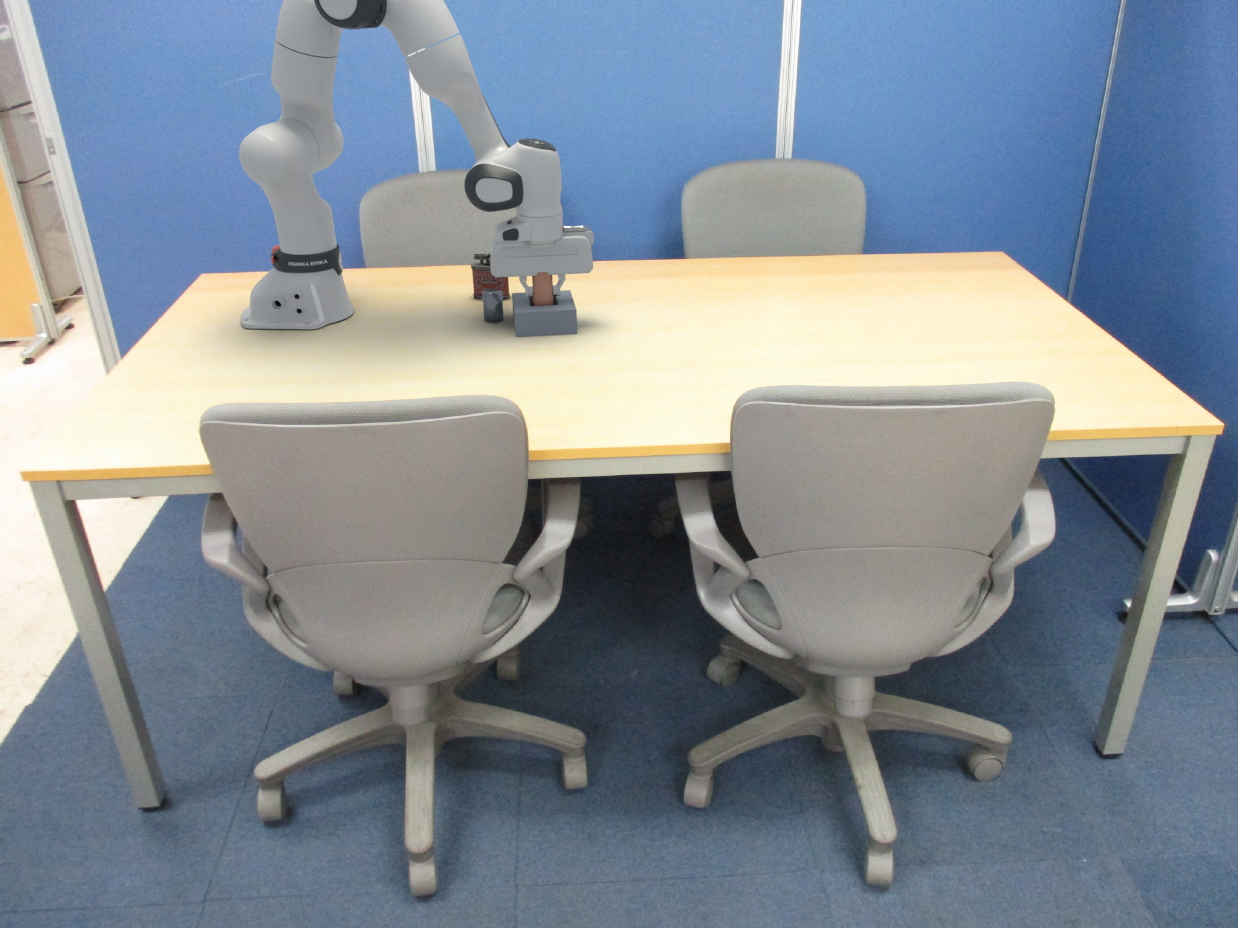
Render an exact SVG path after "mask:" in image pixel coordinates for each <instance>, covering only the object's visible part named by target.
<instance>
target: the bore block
mask: <svg viewBox="0 0 1238 928" xmlns="http://www.w3.org/2000/svg"><path fill="white" fill-rule="evenodd" d="M511 302H512V316H513V322H514V323H513V324H514V330H515V336H516V338H519V337H521V338H522V337H523V338H524V337H538V336H555V335H557V336H558V335H572V334H575V335H577V334H578V322H577V321H578V320H577V319H578V318H577V317H578V316H577V315H578V314H577V307H576V304H575V301H574V298H573V294H572V292H571V290H570V289H568V290H560V296H553V305H547V306H533V297H526V293H525V292H511Z"/></svg>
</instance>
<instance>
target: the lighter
mask: <svg viewBox="0 0 1238 928" xmlns="http://www.w3.org/2000/svg"><path fill="white" fill-rule="evenodd" d="M490 255H491V251H489V252H488V253H485V252H474V253H473V260H475V261H476V260H477V261H479V262H477V261H476V262H472V263H470V267H471V271H472V273H471V274H472V285H473V293H472V297H473V299H474V300H478V301H479V300H480V301H483V295H482V292H483V291H484V290H487V289H500V290H502V297H503V301H509V300H510V299H511V293H510V287H509V277H494V276H493V275H492V274H491V270H490Z"/></svg>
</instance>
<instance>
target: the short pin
mask: <svg viewBox="0 0 1238 928" xmlns="http://www.w3.org/2000/svg"><path fill="white" fill-rule="evenodd" d="M482 295H483V300H482V307H483V321H484V322H485V323H487V324H499V323H501V322H504V320H505V315H504V303H503V302H504V300H503V297H502V290H500V289H487V290H484V291H483V292H482Z"/></svg>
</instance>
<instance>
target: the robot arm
mask: <svg viewBox="0 0 1238 928" xmlns="http://www.w3.org/2000/svg"><path fill="white" fill-rule="evenodd" d="M277 18H278V19H277V24H276V30H275V37H274V45H273V46H274V48H273V55H272V64H271V71H270V72H271V73H270V83H271V85H272V88H273V89H274V91H276V93H278V96H279V100H280V106H281V112H280V113H281V114H280V117H279V119H278V120H277V121H274V122H269V123H267V124H264V125H263V124H262V125H260V126H258V127H257V128H256V129H254V130H253V131H252V132H250V133H249V134H247V135H246V136H245V137H243V139H242V141H241V143H240V145H239V149H238V158H239V162H240V165H241V168H242V169H243V171H244V173H245V174H246V175H247V176H248V177H249V179H251V180H252V181H253V182H254V183H256V184H258V185H259V186H260V188H261V190H262V191H263V193H264V195H265V197H266V199H267V200H268V202H269V205H270V208H271V210H272V214H273V217H274V222H275V227H276V232H277V238H278V244H279V245H278V244H276V245H273V248H272V249H271V252H270V253H271V254H270V261H271V264H272V267H273V268H271V269H270V270H269V271H268V272H267V273H266V274H264V276H263V277H262V278H261V279H259V280H258V282H256V284H254V286H253V287H252V289H251V292H250V296H249V297H250V298H249V306H247V308H245V309H244V310H243V311H242V313H241V316H240V324H241V326H242V327H243V328H245V329H251V330H252V329H253V330H254V329H256V330H257V329H265V330H317V329H321V328H323V327H325V326H327V325H329V324H333V323H338V322H339V321H342V320H343V321H344V319H347V318H349V317H351V316H352V315H353V314H354V312H355V308H354V305H353V304H352V302H351V299H350V297H349V294H348V291H347V288H346V284H345V281H344V276H343V271H344V270H343V269H344V265H343V259H342V258H343V257H342V252H341V249H340V245H339V244H338V243H337V242H338V241H337V237H336V236H337V235H336V231H335V223H334V217H333V216H334V215H333V209H332V207H331V205H330V204H329V203H328V202H327V201H326V200H325V199H323V198H322V197H321V196H320V193H319V191H318V189H317V187H316V184H315V181H314V176H313V174H316V173H318V172H321V171H323V170H326V169H327V168H329V166H331V165H332V164H333V163H334V162H336V160H338V158H339V157H340V156H341V155H342V152H343V149H344V142H345V141H344V136H343V133H342V131H341V130H342V129H340V126H339V125H338V124H337V122H336V120H335V112H334V102H333V100H334V99H333V98H334V85H335V80H336V79H335V77H336V70H337V64H338V56H339V51H340V50H339V49H340V41H341V37H342V33H343V31H344V30H362V29H376V28H379V27H380V26H382V27H384V28H385V29H387V30H388V31H389V32H390V33H391V35H392V37H393V38H394V40H395V42H396V44H397V46H398V47H399V51H400V52H401V55H402V57H403V60H404V61H405V64H406V66H407V68H408V70H409V72H410V74H411V75H412V78H413V79H414V80H415V82H416V84H417V85H418V86H419V88H420V90H422V92H423V93H424V94H426V95H427V96H429V97H430V98H433V99H436V100H438V101H440V102H441V103H443V104H444V105H446V106H447V107H448V108H449V109H450V110H451V111H452V112H453V114H455V116H456V118H457V119H458V121H459V123H460V126H461V127H462V130H463V131H464V134H465V136H466V138H467V140H468V142H469V143H470V146H471V148H472V150H473V152H474V155H475V157H474V158H475V163H474V165H472V167H471V168H470V169H469V171H468V172H467V173H466V176H465V178H464V182H463V183H464V184H463V185H464V192H465V195H466V198H467V199H468V200H469V203H471V205H473V206H474V207H475V208H476V209H477V210H480V211H482V212H487V213H494V212H501V211H506V210H511V209H516V216H514V217H510V218H508V219H505V220H502V221H500V222H499V221H498V222H497V223H496V224H495V226H494V236H495V237H494V239H493V240H492V242H491V247H490V252H491V255H490V270H491V274H492V275H493V276H494V277H508V278H514V277H515V278H516V277H518V279H519V280H518V281H519V283H520V284H521V285H522V287H523V289H524V290H525V293H526V297H533V285H531V286H529V284H528V283H527V281H528V279H527V278H528V277H532V276H536V275H537V273H538V272H548V274H549V275H552V276H557V279H558V281H557V282H556V284H554V285H553V296H560V291H561V288H562V287H563V284H564V282H565V281H566V275H577V274H578V275H579V274H590V273H591V272H592V271H593V269H594V262H593V261H594V260H593V252H592V247H593V245H594V243H595V235H594V231H593V229H592V228H590V227H587V226H586V225H585V224H581V225H564V221H563V220H564V219H563V218H564V217H563V215H564V213H563V207H562V204H561V195H562V194H561V193H562V190H563V184H562V180H563V179H562V167H561V161H560V157H559V153H558V150H557V148H556V147H555V146H554V145H553V144H552V143H550V142H548V141H546V140H542V139H537V138H521V139H518V140H517V141H516V143H514V144H513V145H510V144H509V143H508V142H507V140H506V139H505V137H504V136H503V134H502V132H501V130H500V127H499V125H498V124H497V121H496V119H495V117H494V115H493V112H492V111H491V109H490V106H489V104H488V103H487V100H486V98H485V96H484V94H483V92H482V90H481V87H480V85H479V84H480V83H479V81H478V79H477V77H476V73H475V70H474V67H473V63H472V61H471V59H470V54H469V52H468V50H467V47H466V44H465V42H464V39H463V37H462V34H461V33H460V30H459V28H458V26H457V24H456V21H455V19H454V17H453V15H452V13H451V11H450V9H449V7H448V6H447V4H446V3H445V0H282V3H281V7H280V11H279V13H278V17H277Z"/></svg>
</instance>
